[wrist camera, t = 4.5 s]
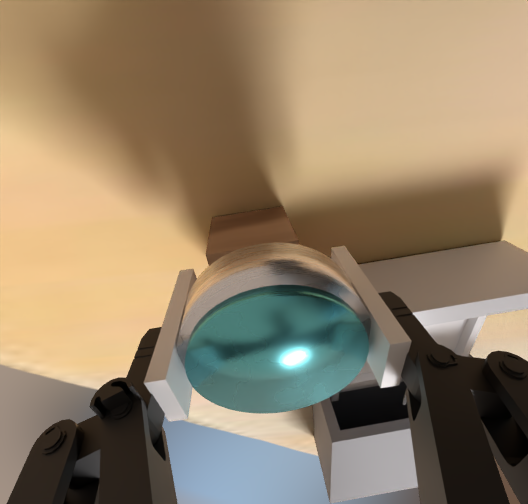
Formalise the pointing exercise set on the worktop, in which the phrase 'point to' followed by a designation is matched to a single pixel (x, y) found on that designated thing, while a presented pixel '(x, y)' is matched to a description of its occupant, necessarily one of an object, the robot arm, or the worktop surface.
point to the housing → (365, 443)
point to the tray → (451, 292)
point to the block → (248, 231)
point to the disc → (273, 329)
